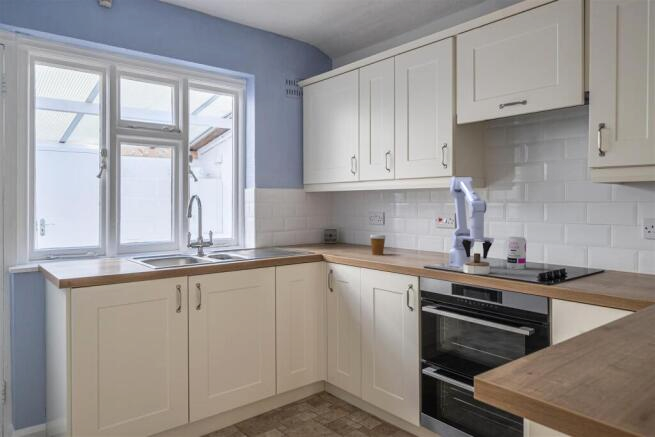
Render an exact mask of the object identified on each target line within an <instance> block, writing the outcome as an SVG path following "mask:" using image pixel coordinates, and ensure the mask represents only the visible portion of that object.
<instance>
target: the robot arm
mask: <svg viewBox="0 0 655 437" xmlns="http://www.w3.org/2000/svg"><path fill="white" fill-rule="evenodd" d="M449 182H450V183H449V190H450V195H451V196H453V198H454V207H455V209H454V210H455V219H456V220H455V221H456V229H455V230H454V231H452V233H451V241H450V242H451V246H452V248H451V249H450V250H449V259H448V260H449V261H448V262H449V265H448V267H453V268H463V264H465V262H466V261H471V250H473V249H472V248H473V247H474V246H475V242H478V243H481V244H482V249H483V250H482V252H483V253H482V257H483V260H485V259H486V260H487V258H488V254H489V251H490V249H491V247H492V245H493V243H494V242H495V241H494V240H495V238H494V237H486V236H485V237H484V235H485V230H484V229H485V226H484V225H485V213H486V212H487V202H486V200H484V199H482V198H480V196H479V193H477V192H476V191H475V190H473V185H474V180H473V178H472V177H471V176H469V177H468V176H466V177H461V176H460V177H455V176H452V177H451V179H450V181H449ZM466 202H467V204H468V212H469V218H470V223H469V224H470V228H468V222H467V210H466V209H467V208H466Z"/></svg>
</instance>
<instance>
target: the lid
mask: <svg viewBox="0 0 655 437" xmlns="http://www.w3.org/2000/svg"><path fill="white" fill-rule="evenodd" d="M465 265H469V266H489V265H490V262H489V261H481V253H478V252H477V253H476V252H474V253H473V260H470V261H466V262H465Z"/></svg>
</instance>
